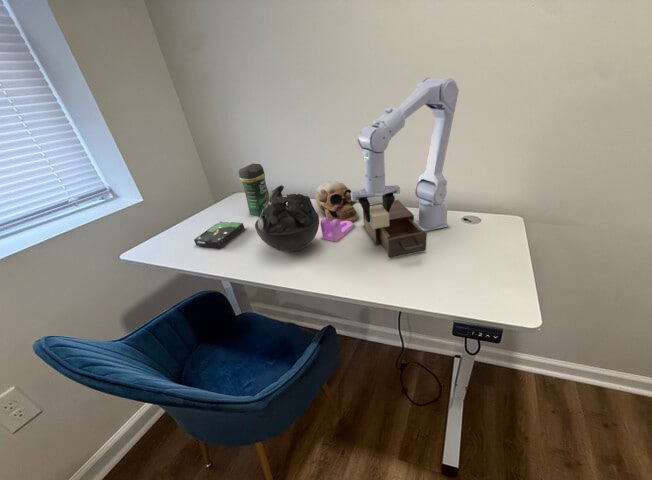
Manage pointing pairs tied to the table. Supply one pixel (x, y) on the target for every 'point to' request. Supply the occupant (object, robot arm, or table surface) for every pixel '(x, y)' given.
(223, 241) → the disk drive
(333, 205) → the skull
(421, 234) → the drawer
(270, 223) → the bowl of black rocks
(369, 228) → the cabinet
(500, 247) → the table surface
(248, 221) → the table surface
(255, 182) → the coffee jar
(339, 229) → the bracket
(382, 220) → the beige rectangular block
